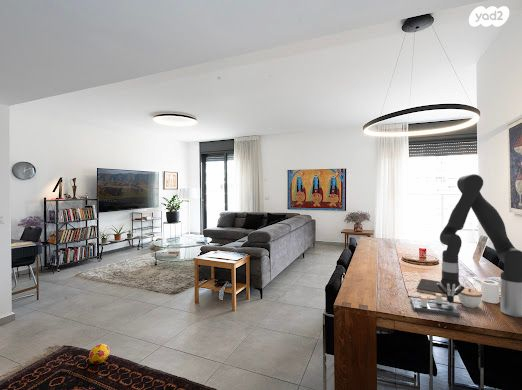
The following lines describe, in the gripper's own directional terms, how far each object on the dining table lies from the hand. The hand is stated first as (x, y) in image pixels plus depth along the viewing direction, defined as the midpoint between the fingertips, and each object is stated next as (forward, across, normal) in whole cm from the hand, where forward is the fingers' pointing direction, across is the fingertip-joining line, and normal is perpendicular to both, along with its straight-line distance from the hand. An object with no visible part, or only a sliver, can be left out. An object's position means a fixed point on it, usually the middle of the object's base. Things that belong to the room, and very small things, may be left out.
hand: (450, 302), depth 147 cm
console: (+3, +8, +3) cm, 9 cm away
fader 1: (+1, +13, +7) cm, 15 cm away
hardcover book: (+4, +2, -31) cm, 31 cm away
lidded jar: (+4, -11, -8) cm, 14 cm away
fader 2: (+1, +5, 0) cm, 5 cm away
